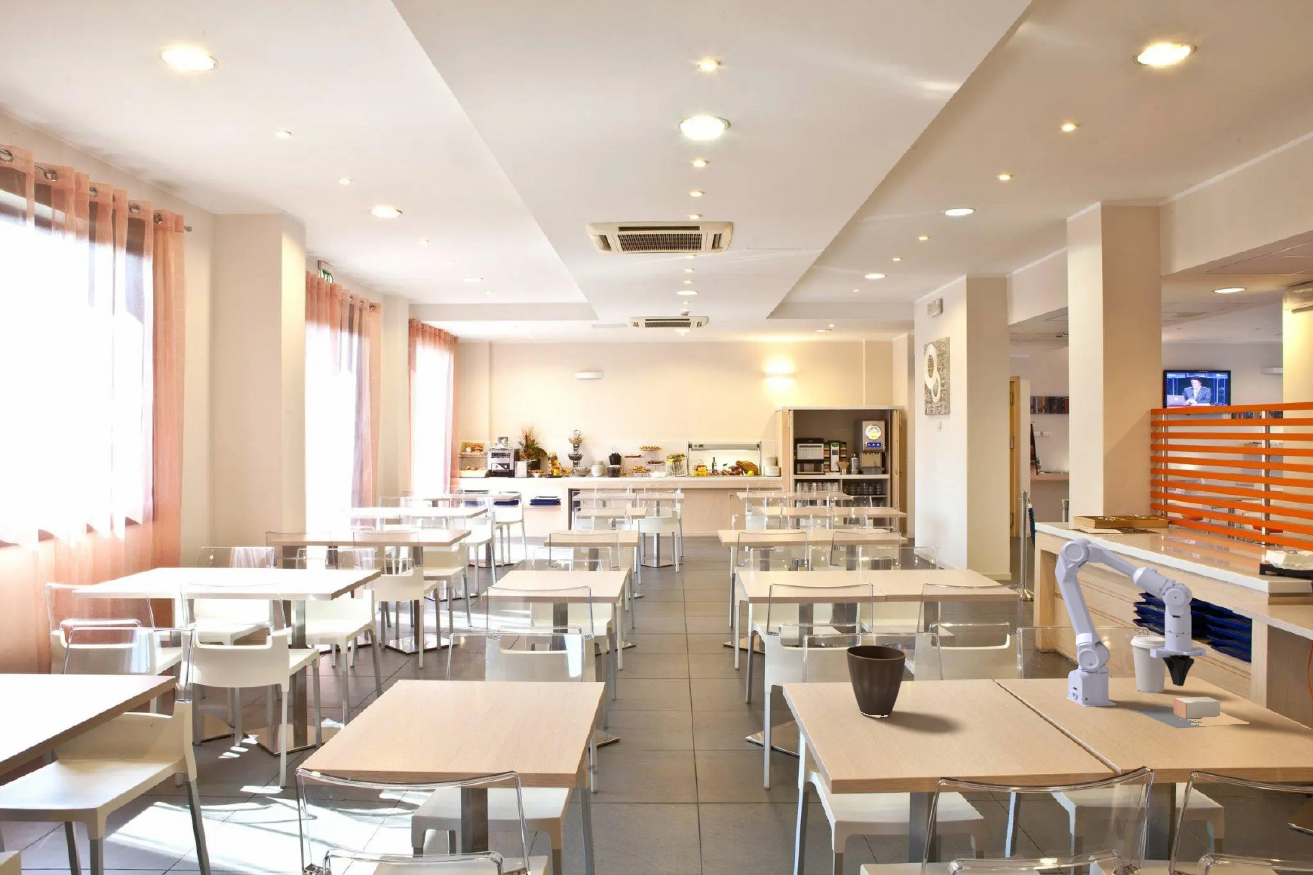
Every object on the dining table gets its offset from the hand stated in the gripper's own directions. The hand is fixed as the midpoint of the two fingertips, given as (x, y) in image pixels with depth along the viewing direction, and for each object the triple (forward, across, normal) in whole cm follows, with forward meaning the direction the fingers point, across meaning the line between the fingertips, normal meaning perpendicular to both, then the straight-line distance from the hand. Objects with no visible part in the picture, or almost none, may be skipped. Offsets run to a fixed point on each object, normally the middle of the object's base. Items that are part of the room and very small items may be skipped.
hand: (1178, 684), depth 210 cm
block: (+6, 0, 0) cm, 6 cm away
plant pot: (+9, -76, +14) cm, 78 cm away
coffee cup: (+9, +11, +23) cm, 27 cm away
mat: (+8, +3, 0) cm, 9 cm away
